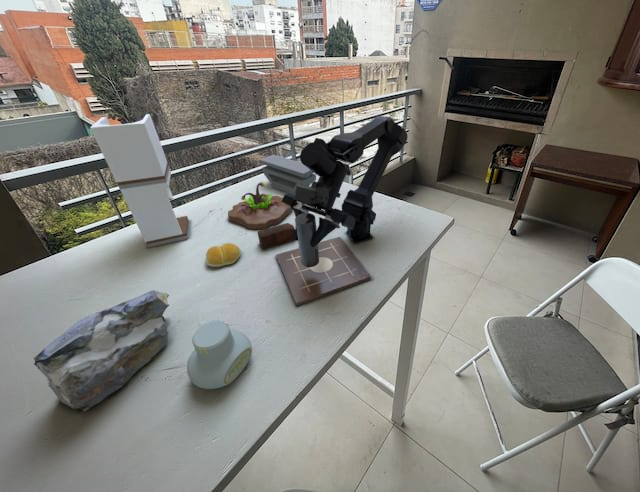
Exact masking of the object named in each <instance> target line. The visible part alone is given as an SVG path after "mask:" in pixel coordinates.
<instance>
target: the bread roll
mask: <svg viewBox="0 0 640 492" xmlns="http://www.w3.org/2000/svg"><path fill="white" fill-rule="evenodd" d="M241 253H242V252H241V248H240V247H239V246H238V245H237V244H235V243H231V242H230V243H229V242H227V243H223V244H221V245H220V246H219V245H213V246H211V247H209V248H208V249H207V250H206V253H205V262H206V265H207V266H208V267H212V268H220V267H223V266H227V265H228V266H229V265H233V264H234V263H236V261H238V259H239V258H240V256H241Z"/></svg>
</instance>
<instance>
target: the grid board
mask: <svg viewBox="0 0 640 492" xmlns="http://www.w3.org/2000/svg"><path fill="white" fill-rule="evenodd" d="M318 250H319V260H320V261H319V263H318V264H317V265H316V266H314V267H305V266H303V265H302V263H301V257H300V250H299V247H298V248H295V249H292V250H287V251H284V252H280V253H276V254H275V258H276V260H277V262H278V265H279V267H280V269H281V272H282V274H283V277H284V279H285V282H286V284H287V286H288V289H289V291H290V294H291V296H292V298H293V301H294V303H295V305H296V307H298V306H300V305H303V304H306V303H309V302H312V301H315V300H317V299H320V298H323V297H325V296H328V295H331V294H334V293H337V292H340V291H343V290H345V289H348V288H350V287H354V286H356V285H359V284H362V283H364V282H366V281H370V280H371V275H370V273H368V271H367V270H366V269H365V267H364V266H363V265H362V263H361V262H360V261H359V260H358V258H357V257H356V255H354V253H353V252H352V251H351V249H350V248H349V247H348V245H347V244H346V243H345V241H343V239H342V238H341V236H338V237H333V238H330V239H327V240H323V241H320V242H319V243H318Z"/></svg>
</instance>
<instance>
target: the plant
mask: <svg viewBox="0 0 640 492" xmlns="http://www.w3.org/2000/svg"><path fill="white" fill-rule="evenodd" d="M259 187H261V188H262V187H265V182H262V181H261V182H259V183H257V185H256V188H255V193H253V192H252V193H251V192H246V193H245V194H243V195H242V196H241V197H240V199H241V200H242V201H240V202H238V203H237V204H234V205H232V209H230V210H228V211H227V216H228V219H229V221H230V222H232V223H235V224H240V225H242V226H245V227H246V228H247V229H250V230H251V229H252V230H263V229H267V228H270V227H271V226H273V225H279V223H281V222H282V221H283V220H284V219H285V218H286V217H287V216H288V215H290V214H291V213H292V212H293V210H292V209H291V207H290V206H289V205H287V204H285V203H283V202H281V201H282V199H283V197H281V196H279V195H273V193H270V194H265V193H264V192H263V193H260V189H259ZM248 195H249V198H246V196H248Z"/></svg>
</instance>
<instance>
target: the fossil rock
mask: <svg viewBox="0 0 640 492" xmlns="http://www.w3.org/2000/svg"><path fill="white" fill-rule="evenodd" d="M169 296H170V295H169V293H167V292H161V291H159V290H154V289H153V290H149V291H147V292H145V293H144V294H142V295H139V296H136V297H134V298H130V299H128V300H125V301H123V302H120V303H119V304H115V305H113V306H110V307H107V308H105V309H103V310H101V311H97V312H95V313H92V314H90V315H88V316H85V317H84V318H82V319H80V320H78V321H77V322H76V323H74V324H73V325H72V326H70V327H69V329H67V330H66V331H65V332H63V333H62V334H61V335H59V336H58V337H57V338H55V339H54V340H53V341H52V342H50V343H49V344H48V345H47V346H46V347H45V348H43V349H42V350H41V351H40V352H39V353H38V354H37V355H35V356H34V357H33V360H34V363H33V365H34V366H35V367H36V368H37V369H38V371H40V372H41V374H42V375H43V376H45V378H46V379H47V381H48V383H47V385H48V387H49V388H50V389H51V390H52V392H53V393H54V395H55V396H56V397H57V399H58V401H60V402H61V403H62V404H64V405H66V407H67V406H68V407H70V408H71V409H72V410H75V409H79V410H82V411H83V412H84V413H86V412H88V411H89V410H90V409H91V408H92V407H95V406H96V405H98V404H100V403H101V402H102V401H103V400H105V399H106V398H107V397H109V396H110V395H112V394H113V393H115V392H116V391H118V390H119V389H121V388H122V387H124V386H125V385H126V383H127V382H129V381H130V380H131V378H132V377H133V376H134V375H135V374H137V372H138V371H139V370H140V369H141V368H143V367H144V366H146V364H148V363H150V362H151V361H152V359H153V358H154V357H155V356H156V355H157V354H158V353H159V352H160V351H162V349H165V347H166V345H167V343H168V336H169V335H168V334H169V332H168V328H167V323H166V318H165V316H164V313H165V312H166V309H167V308H169V307H170V304H169V301H168V298H169Z"/></svg>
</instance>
